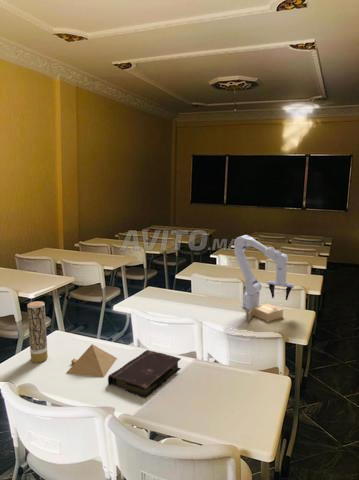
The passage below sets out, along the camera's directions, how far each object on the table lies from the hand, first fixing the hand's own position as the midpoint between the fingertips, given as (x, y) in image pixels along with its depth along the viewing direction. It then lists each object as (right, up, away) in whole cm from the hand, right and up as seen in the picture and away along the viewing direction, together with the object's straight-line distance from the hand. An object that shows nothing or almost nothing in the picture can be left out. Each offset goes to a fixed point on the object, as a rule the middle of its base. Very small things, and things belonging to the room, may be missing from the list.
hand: (279, 298), depth 218 cm
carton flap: (-18, -10, -7) cm, 22 cm away
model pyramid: (-94, -20, -57) cm, 111 cm away
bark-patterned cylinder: (-117, -18, -53) cm, 130 cm away
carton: (-7, -10, -1) cm, 12 cm away
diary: (-70, -22, -65) cm, 98 cm away
